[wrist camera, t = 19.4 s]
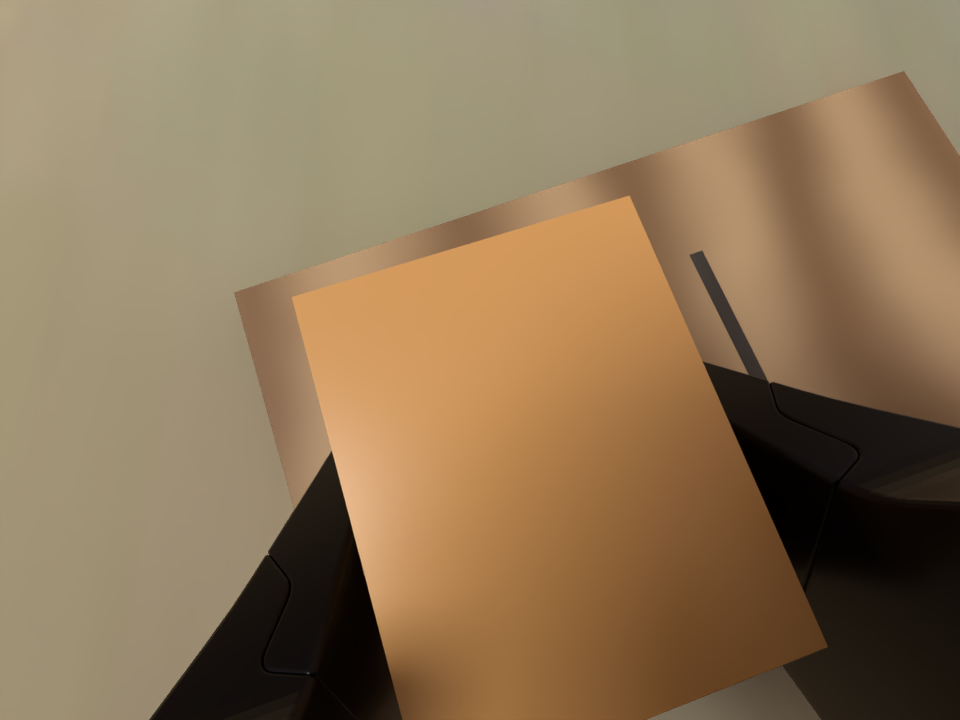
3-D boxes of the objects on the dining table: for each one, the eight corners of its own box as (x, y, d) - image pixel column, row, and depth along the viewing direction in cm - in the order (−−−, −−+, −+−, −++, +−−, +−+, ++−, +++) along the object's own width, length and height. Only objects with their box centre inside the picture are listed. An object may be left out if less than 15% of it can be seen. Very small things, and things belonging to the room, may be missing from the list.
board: (881, 91, 19) (903, 71, 18) (1126, 475, 16) (1168, 475, 15) (248, 302, 17) (234, 292, 16) (388, 798, 13) (381, 824, 12)
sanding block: (575, 319, 16) (748, 81, 6) (657, 530, 14) (1066, 683, 4) (341, 394, 15) (92, 269, 5) (403, 622, 14) (225, 1038, 4)
